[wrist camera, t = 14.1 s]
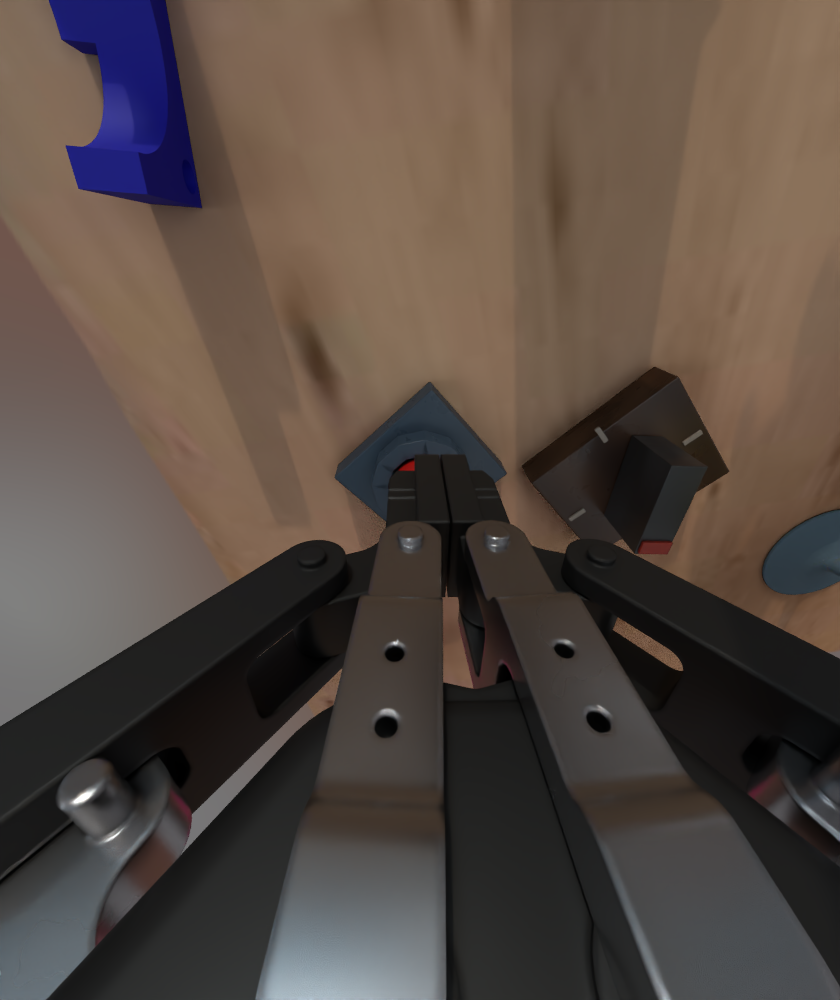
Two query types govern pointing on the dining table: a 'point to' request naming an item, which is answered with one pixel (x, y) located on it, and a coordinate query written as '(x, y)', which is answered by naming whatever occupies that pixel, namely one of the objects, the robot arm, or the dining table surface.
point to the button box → (412, 447)
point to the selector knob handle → (653, 493)
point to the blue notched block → (132, 103)
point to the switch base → (618, 450)
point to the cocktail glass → (806, 557)
